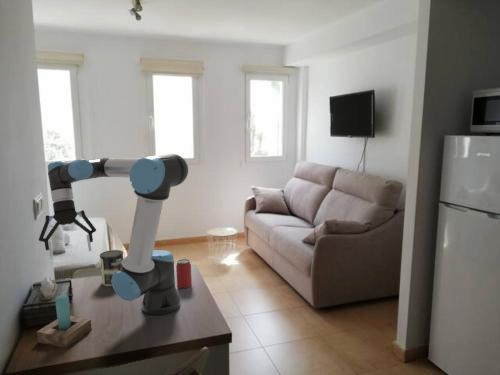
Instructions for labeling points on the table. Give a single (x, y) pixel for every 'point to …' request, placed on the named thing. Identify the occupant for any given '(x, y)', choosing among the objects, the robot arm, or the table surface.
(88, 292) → the table surface
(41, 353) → the table surface
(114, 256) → the coffee can
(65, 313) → the teal pin
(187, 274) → the beer can
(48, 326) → the walnut hole block
